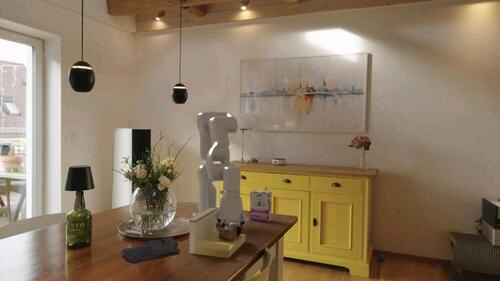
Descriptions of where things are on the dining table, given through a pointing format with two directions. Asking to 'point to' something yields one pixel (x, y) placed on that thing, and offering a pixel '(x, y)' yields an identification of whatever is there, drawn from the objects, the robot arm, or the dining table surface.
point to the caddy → (228, 231)
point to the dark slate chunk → (151, 250)
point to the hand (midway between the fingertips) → (231, 234)
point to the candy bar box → (260, 205)
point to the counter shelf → (210, 237)
